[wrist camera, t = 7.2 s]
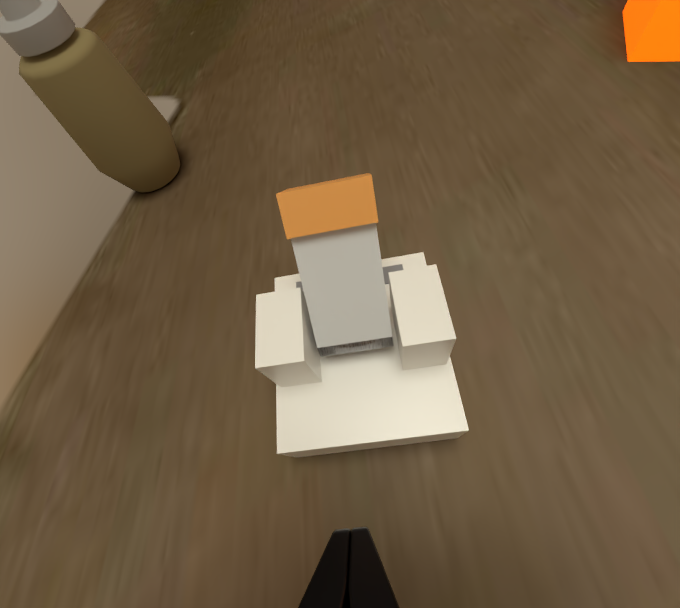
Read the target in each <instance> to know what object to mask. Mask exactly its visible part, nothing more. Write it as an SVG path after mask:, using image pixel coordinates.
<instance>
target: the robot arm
mask: <svg viewBox="0 0 680 608" xmlns="http://www.w3.org/2000/svg"><path fill="white" fill-rule="evenodd" d="M298 608H399V605H398V603H397V600H396V598H395V595H394V593H393V590H392V588H391V585H390V582H389V580H388V577H387V575H386V572H385V570H384V567H383V565H382V562H381V560H380V557H379V554H378V552H377V549H376V547H375V544H374V542H373V539H372V537H371V534H370V531H369V529H368V528H367V527H358V528H353V529H352V530H350V529H338V530H335V531H334V532H333V533H332V535H331V538H330V540H329V542H328V544H327V546H326V548H325V551H324V553H323V555H322V557H321V559H320V561H319V563H318V566H317V568H316V570H315V572H314V574H313V576H312V579H311V581H310V583H309V585H308V587H307V589H306V592H305V594H304V596H303V598H302V600H301V602H300V605H299V607H298Z"/></svg>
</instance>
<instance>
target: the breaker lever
mask: <svg viewBox="0 0 680 608" xmlns="http://www.w3.org/2000/svg"><path fill="white" fill-rule="evenodd" d="M276 196H277V200H278V204H279V208H280V213H281V217H282V221H283V225H284V229H285V233H286V237H287V239H290V238H291V241H292V245H293V249H294V253H295V257H296V262H297V266H298V270H299V274H300V278H301V282H302V286H303V291H304V295H305V299H306V303H307V307H308V311H309V315H310V320H311V324H312V328H313V332H314V336H315V340H316V344H317V349H318V352H319V355H320V356H321V357H325V356H332V355H339V354H345V353H352V352H359V351H366V350H372V349H379V348H386V347H393V346H394V344H393V336H392V330H391V323H390V316H389V309H388V302H387V296H386V289H385V282H384V275H383V268H382V262H381V255H380V248H379V241H378V234H377V228H376V223H377V222H378V216H377V209H376V202H375V195H374V188H373V182H372V175H371V174H369V173H367V174H362V175H357V176H352V177H347V178H341V179H336V180H331V181H326V182H321V183H316V184H311V185H306V186H301V187H296V188H291V189H287V190H284V191H282V192H279V193H277V194H276Z"/></svg>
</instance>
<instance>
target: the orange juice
mask: <svg viewBox="0 0 680 608" xmlns="http://www.w3.org/2000/svg"><path fill="white" fill-rule="evenodd" d="M623 20H624V30H625V39H626V49H627V59H628V62H642V61H680V0H628V1H627V4H626V6H625V8H624V10H623Z"/></svg>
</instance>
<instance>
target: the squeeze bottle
mask: <svg viewBox="0 0 680 608" xmlns="http://www.w3.org/2000/svg"><path fill="white" fill-rule="evenodd" d="M0 11H1V13H2V14H3V16H2V17H1V18H0V35H1V36H2V37H3V38H4V40H5V41H6V42H7V43H8V44H9V45H10V46H11V47H12V48H13V49H14V51H15V52H16V53H17V54H18V55H19V56H21V59H20V64H19V74H20V75H21V76H22V78H23V79H24V80H25V81H26V83H27V84H28V85H29V86H30V87H31V88H32V90H33V91H34V92H35V94H36V95H37V96H38V97H39V98H40V100H41V101H42V102H43V103H44V104H45V105H46V107H47V108H48V109H49V110H50V112H51V113H52V114H53V115H54V117H55V118H56V119H57V120H58V121H59V123H60V124H61V125H62V126H63V127H64V129H65V130H66V131H67V132H68V134H69V135H70V136H71V137H72V138H73V140H74V141H75V142H76V143H77V145H78V146H79V147H80V148H81V149H82V151H83V152H84V153H85V154H86V155H87V157H88V158H89V159H90V160H91V162H92V163H93V164H94V165H95V166H96V168H97V169H98V170H99V171H100V172H102V173H104V174H106V175H107V176H109V177H111V178H113V179H114V180H117V181H118V182H120V183H122V184H123V185H125V186H127V187H129V188H131V189H132V190H135V191H138V192H151V191H154V190H156V189H159V188H162V187H163V186H165V185H166V184H167V183H169V182H170V181H171V180H172V179H173V178H174V177H175V175H176V174H177V173H178V170H179V168H180V160H179V156H178V152H177V149H176V146H175V142H174V139H173V135H172V132H171V128H170V125H169V123H168V122H167V121H166V120H165V118H164V117H163V116H162V115H161V113H160V112H159V111H158V110H157V108H156V107H155V106H154V105H153V103H152V102H151V101H150V100H149V98H148V97H147V96H146V95H145V93H144V92H143V91H142V90H141V89H140V87H139V86H138V85H137V84H136V82H135V81H134V80H133V79H132V77H131V76H130V75H129V74H128V72H127V71H126V70H125V69H124V67H123V66H122V65H121V64H120V62H119V61H118V60H117V59H116V57H115V56H114V55H113V54H112V52H111V51H110V50H109V49H108V47H107V46H106V45H105V44H104V42H103V41H102V40H101V39H100V37H99V36H98V35H97V34H95V33H94V32H93V31H90V30H87V29H84V28H76V27H75V23H74V22H73V21H72V19H71V18H70V16H69V15H68V14H67V12H66V11H65V10H64V8H63V7H62V5H61V4H60V3H59V2H58V0H0Z"/></svg>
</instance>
